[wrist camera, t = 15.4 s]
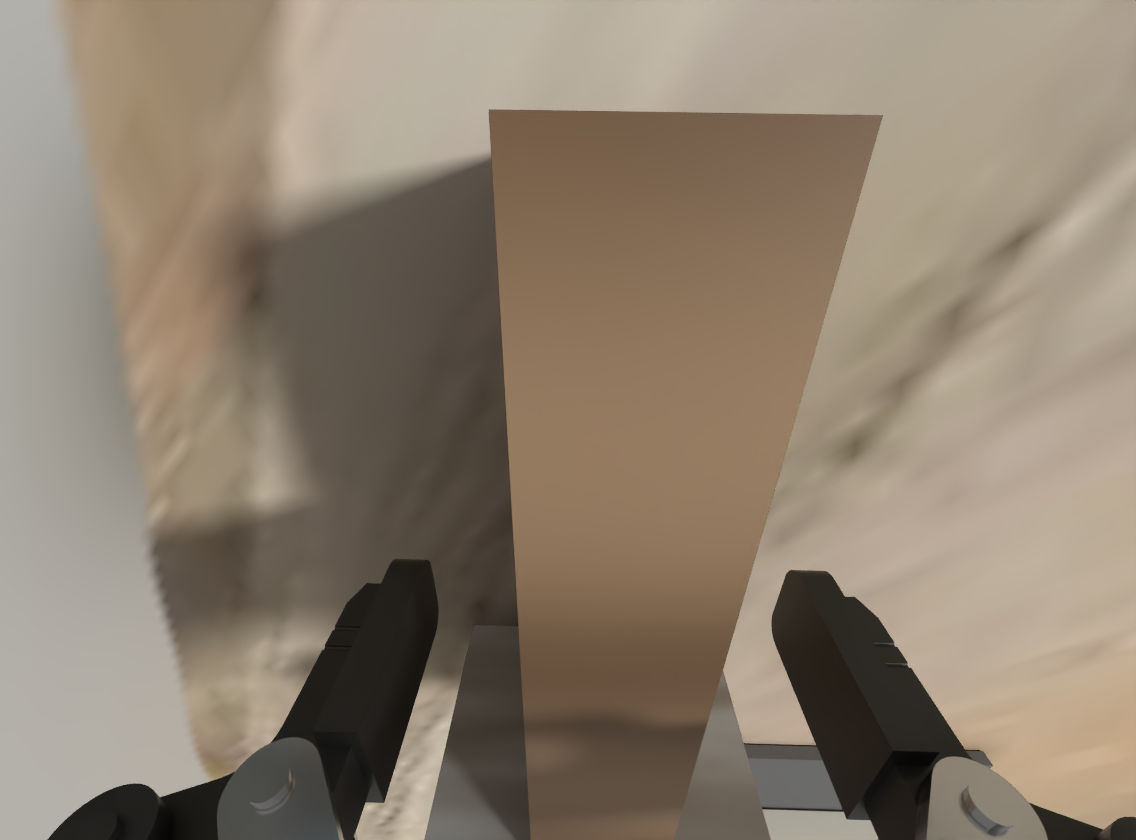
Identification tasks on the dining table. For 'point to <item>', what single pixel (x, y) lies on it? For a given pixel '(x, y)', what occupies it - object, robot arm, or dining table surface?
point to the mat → (800, 777)
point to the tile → (816, 825)
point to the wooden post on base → (640, 457)
